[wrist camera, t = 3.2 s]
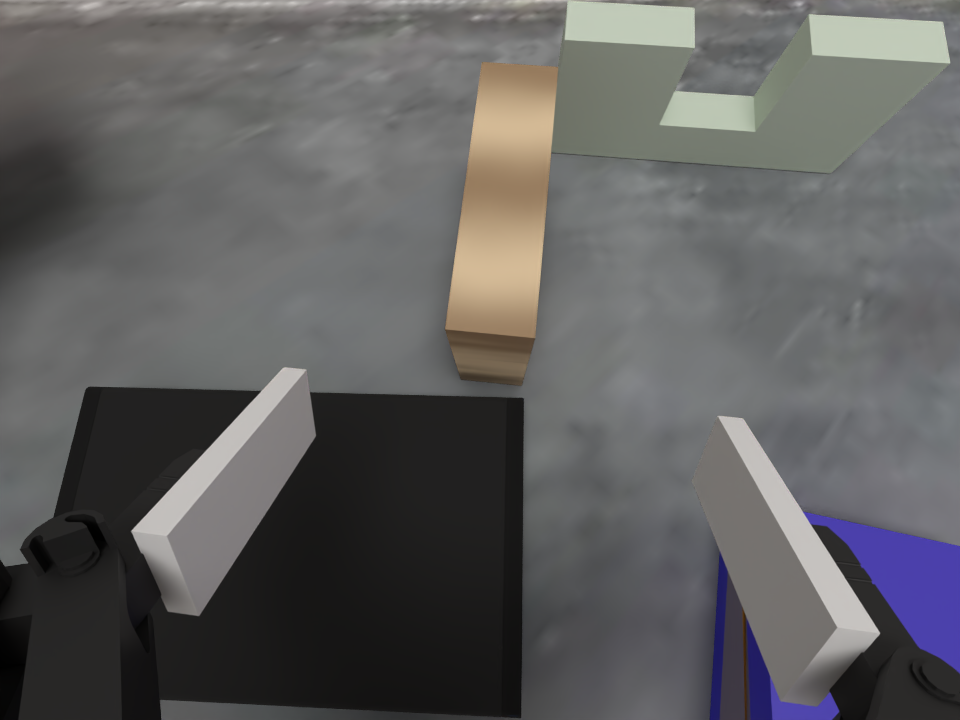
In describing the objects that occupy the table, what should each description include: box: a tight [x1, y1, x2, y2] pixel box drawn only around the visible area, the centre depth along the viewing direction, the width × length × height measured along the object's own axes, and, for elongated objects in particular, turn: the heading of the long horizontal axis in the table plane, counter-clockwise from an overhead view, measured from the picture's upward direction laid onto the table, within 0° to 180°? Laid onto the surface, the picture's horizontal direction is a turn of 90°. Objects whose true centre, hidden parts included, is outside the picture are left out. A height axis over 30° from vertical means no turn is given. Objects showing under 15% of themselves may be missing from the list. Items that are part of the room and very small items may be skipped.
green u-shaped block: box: [551, 1, 950, 174], centre depth 26 cm, size 18×2×8 cm, turn 84°
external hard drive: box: [53, 387, 524, 718], centre depth 24 cm, size 14×23×3 cm, turn 88°
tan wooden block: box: [445, 62, 558, 386], centre depth 24 cm, size 13×4×9 cm, turn 174°
